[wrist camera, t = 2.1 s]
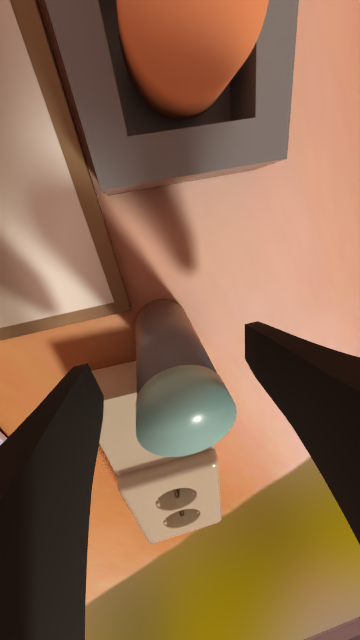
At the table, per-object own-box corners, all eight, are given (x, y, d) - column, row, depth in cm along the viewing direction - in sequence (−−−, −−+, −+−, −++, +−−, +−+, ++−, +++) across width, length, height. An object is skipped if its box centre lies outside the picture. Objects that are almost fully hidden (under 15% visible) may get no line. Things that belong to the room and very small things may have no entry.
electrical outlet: (215, 387, 11) (223, 522, 20) (195, 343, 14) (209, 474, 23) (75, 421, 10) (148, 547, 19) (90, 367, 14) (145, 493, 22)
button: (136, 127, 7) (137, 96, 5) (101, -53, 5) (83, -195, 4) (234, 113, 8) (268, 79, 6) (230, -60, 6) (277, -194, 4)
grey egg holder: (108, 195, 9) (100, 190, 7) (27, -91, 6) (-31, -257, 4) (254, 169, 10) (287, 158, 8) (258, -100, 7) (316, -246, 4)
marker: (141, 351, 13) (149, 467, 7) (127, 305, 12) (122, 405, 6) (191, 338, 14) (237, 439, 8) (183, 292, 12) (235, 374, 6)
